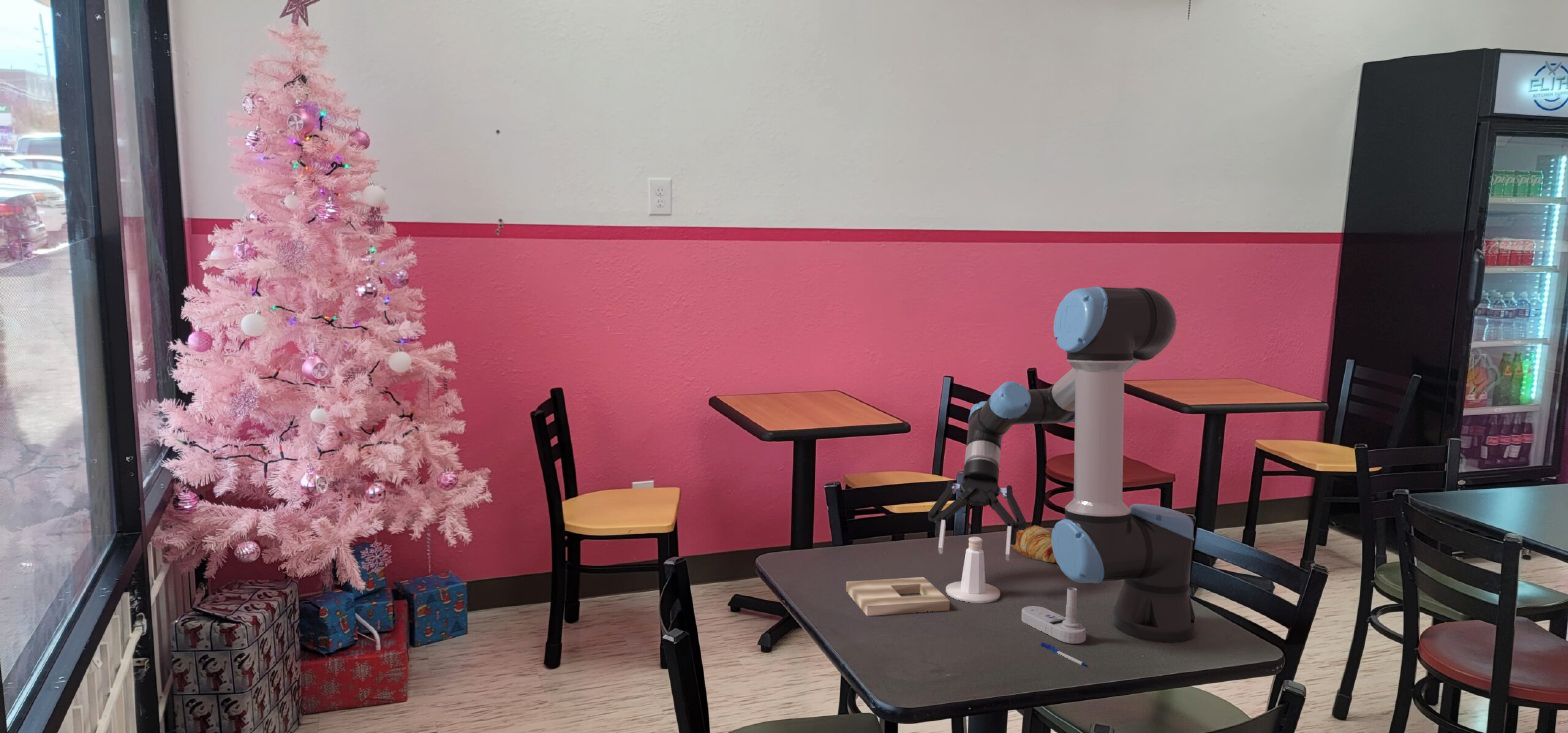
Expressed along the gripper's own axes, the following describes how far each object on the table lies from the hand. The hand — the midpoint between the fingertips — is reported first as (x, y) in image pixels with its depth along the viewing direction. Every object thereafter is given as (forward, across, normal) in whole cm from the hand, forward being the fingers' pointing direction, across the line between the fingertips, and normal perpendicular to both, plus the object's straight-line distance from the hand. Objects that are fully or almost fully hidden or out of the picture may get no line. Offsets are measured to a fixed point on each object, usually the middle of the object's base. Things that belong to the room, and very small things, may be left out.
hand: (973, 554), depth 210 cm
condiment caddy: (+12, +14, 0) cm, 19 cm away
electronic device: (+17, -16, +5) cm, 24 cm away
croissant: (-16, -13, -28) cm, 35 cm away
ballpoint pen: (+25, -18, +13) cm, 33 cm away
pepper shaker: (+6, 0, -6) cm, 8 cm away
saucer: (+6, 0, -6) cm, 8 cm away
